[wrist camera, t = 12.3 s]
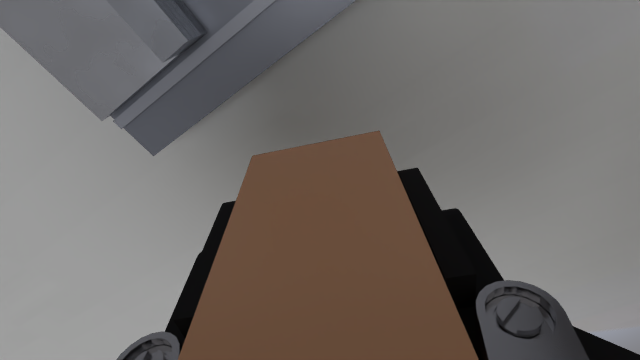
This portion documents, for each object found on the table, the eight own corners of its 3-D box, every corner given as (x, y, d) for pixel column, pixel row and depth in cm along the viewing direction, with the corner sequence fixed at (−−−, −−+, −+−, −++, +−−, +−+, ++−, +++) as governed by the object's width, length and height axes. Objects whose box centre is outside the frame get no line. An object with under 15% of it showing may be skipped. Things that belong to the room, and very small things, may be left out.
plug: (404, 239, 12) (608, 826, 4) (277, 260, 13) (199, 829, 4) (391, 115, 10) (855, 925, 1) (236, 146, 11) (-132, 906, 2)
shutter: (207, 32, 17) (187, 40, 15) (111, 114, 20) (79, 135, 17) (78, -128, 14) (24, -153, 12) (-20, -9, 16) (-83, -8, 14)
